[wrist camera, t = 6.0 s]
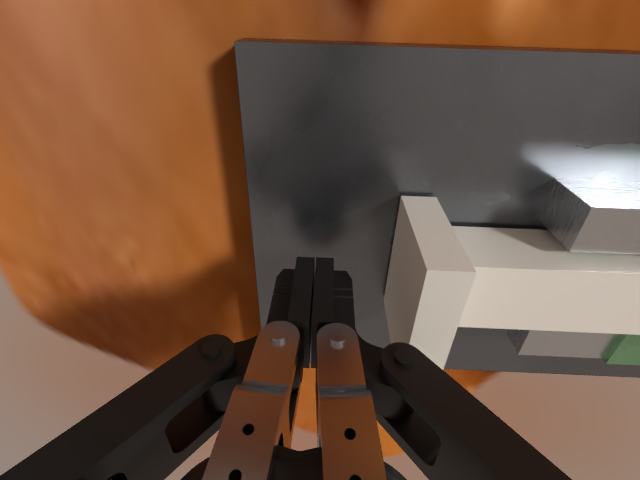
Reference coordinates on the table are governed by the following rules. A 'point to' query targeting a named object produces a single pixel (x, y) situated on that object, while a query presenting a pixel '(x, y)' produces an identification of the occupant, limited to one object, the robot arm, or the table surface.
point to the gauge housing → (442, 168)
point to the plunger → (498, 282)
